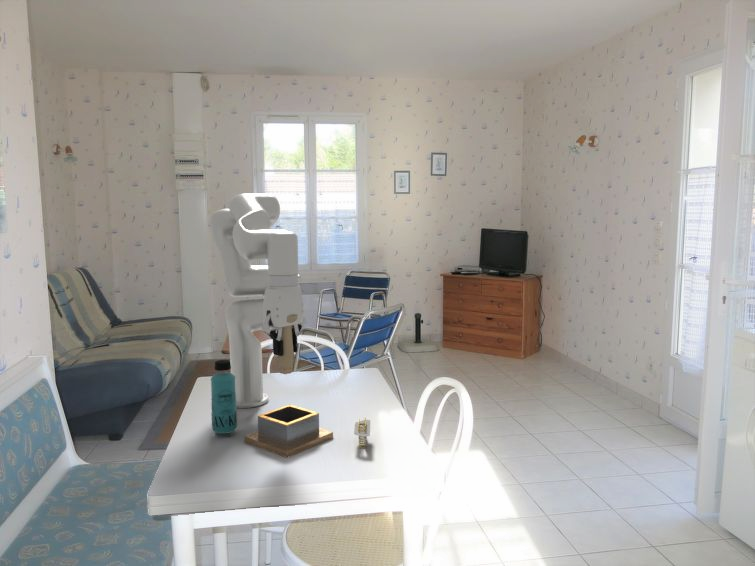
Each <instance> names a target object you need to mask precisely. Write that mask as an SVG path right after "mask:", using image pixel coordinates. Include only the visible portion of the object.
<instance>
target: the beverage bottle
mask: <svg viewBox="0 0 755 566" xmlns="http://www.w3.org/2000/svg"><path fill="white" fill-rule="evenodd" d="M214 370H215V371H217V372H216V373H214V374H213V375H212V376H211V377H210V385H211V386H210V387H211V388H210V391H211V394H210V395H211V398H210V400H211V404H210V406H211V415H210V416H211V428H212V431H213V433H216V434H229V433H232V432H234V431H236V429H237V425H238V418H237V407H236V405H237V404H236V391H235V376H234V375H233V374H232V373H231V371H229V370H231V364H230V360H229V359H219V360H216V361H214Z"/></svg>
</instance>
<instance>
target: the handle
mask: <svg viewBox="0 0 755 566" xmlns="http://www.w3.org/2000/svg"><path fill="white" fill-rule="evenodd" d="M297 318H298V316H297V315H293V316H287V322H288V323H293V322H295V321H296V320H297ZM281 340H283V356H278V355H277V363H278V367H279V369H278V370H279V373H280V374H283V375H288V374H289V375H290V374H292V372H293V370H294V369H293V365H294V353H295V352H293V340H292V326H288V327H284V328H282V336H281Z"/></svg>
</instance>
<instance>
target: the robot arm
mask: <svg viewBox="0 0 755 566" xmlns="http://www.w3.org/2000/svg"><path fill="white" fill-rule="evenodd" d="M280 213H281V206H280V203H279V200H278V198H277V197H276V196H275V195H273V194H272V193H249V192H248V193H247V192H246V193H245V192H244V193H239V194H236V195H234V196H233V197H231V199H230V201H229V202H228V208H222V209H218V210H216V211H214V212H213V213H212V214H211V216H210V219H209V221H210V222H209V225H210V226H209V227H210V234H211V237H212V240H213V242H214V244H215V246H216V248H217V250H218V253H219V255H220V259H221V265H222V271H223V272H222V273H223V279H224V284H225V285H224V286H225V289H226V292H227V294H228V295H229V296H231V297H232V298H246V297H247V298H248V297H259V296H260V297H261V298H256V299H253V298H252V299H242V300H241V299H240V300H237V301H233V302H231V303H229V304H228V305H227V306H226V308H225V310H224V317H225V322H226V323H225V324H226V327H227V334H228V342H229V343H228V344H229V359H230V360H229V361H230V364H231V369H230V373H232V374H233V375H234V376H235V391H236V404H237V405H236V409H239V408H240V409H241V408H242V409H245V408H247V409H249V408H255V407H260V406H262V405H265V404H266V403H268V402H269V396H268V394H267V393H265V392H264V384H263V383H264V381H263V378H264V377H263V355H262V354H263V353H262V344H261V341H260V340H259V339H258V338H257V337H256V336H255V334H254V333H253V332H257V331H262V332H264V333H265V334H266V335H268V336H269V338H270V340H272V352H273V353H272V354H273V355H275V356H277V357H278V356H283V340H281V336H282V328H284V327H288V326H292V340H293V353H297V352H298V337H299V336H300V332H301V330H302V329H303V327H304V326H305V325H306V323H307V320H306V317H305V315H304V301H303V293H302V288H301V285H300V281H301V275H300V274H299V240H298V235H297V234H296V232H294V231H289V230H287V229H272V228H273V226H274V225H275V224H276V223H277V222H278V219H279V218H280ZM255 260H256V261H258V260H267V264H266V265H265V264H262V265H261V264H259V265H252V263H251V261H255ZM293 315H297V316H298V318H297V320H296V321H295V322H293V323H288V322H287V316H293Z"/></svg>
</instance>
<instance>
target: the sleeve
mask: <svg viewBox="0 0 755 566" xmlns="http://www.w3.org/2000/svg"><path fill="white" fill-rule="evenodd" d="M319 413H320V412H316V411H314V410H310V409H307V408H303V407H300V406H296V405H294V404H288V405H284V406H282V407H278V408H276V409H273V410H269V411H266V412H264V413H261V414H258V415H257V430H256V431H253V432H252V433H248V434H246V435H244V441H243V442H244V443H247V444H249V445H252V446H255V447H257V448H261V449H263V450H266V451H268V452H271V453H274V454H277V455H279V456H281V457H284V458H289V457H291V456H294V455H296V454H299V453H302V452H303V451H305V450H308V449H311V448H312V447H315V446H317V445H319V444H321V443H324V442H326V441H329V440H331V439H333V438H334V431H332V430H328V429H324V428H321V427H320V414H319Z"/></svg>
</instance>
